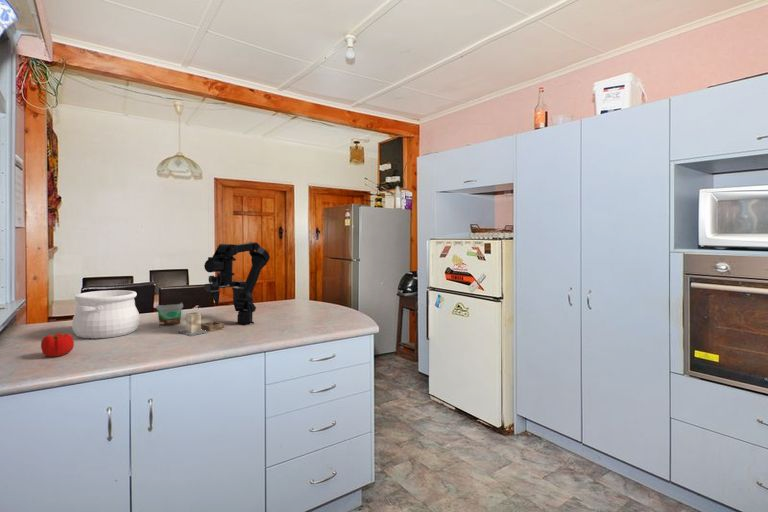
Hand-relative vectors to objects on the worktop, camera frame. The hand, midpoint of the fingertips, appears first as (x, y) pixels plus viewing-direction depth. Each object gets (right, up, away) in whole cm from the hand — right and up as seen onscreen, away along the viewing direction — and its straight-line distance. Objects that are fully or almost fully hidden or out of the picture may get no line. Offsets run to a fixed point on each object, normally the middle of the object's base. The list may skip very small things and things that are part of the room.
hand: (225, 303), depth 188 cm
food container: (-29, -11, +7) cm, 32 cm away
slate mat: (-12, -12, -7) cm, 18 cm away
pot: (-48, -12, -12) cm, 50 cm away
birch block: (-12, -12, -7) cm, 18 cm away
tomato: (-44, -14, -43) cm, 63 cm away
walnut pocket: (-7, -12, 0) cm, 14 cm away
